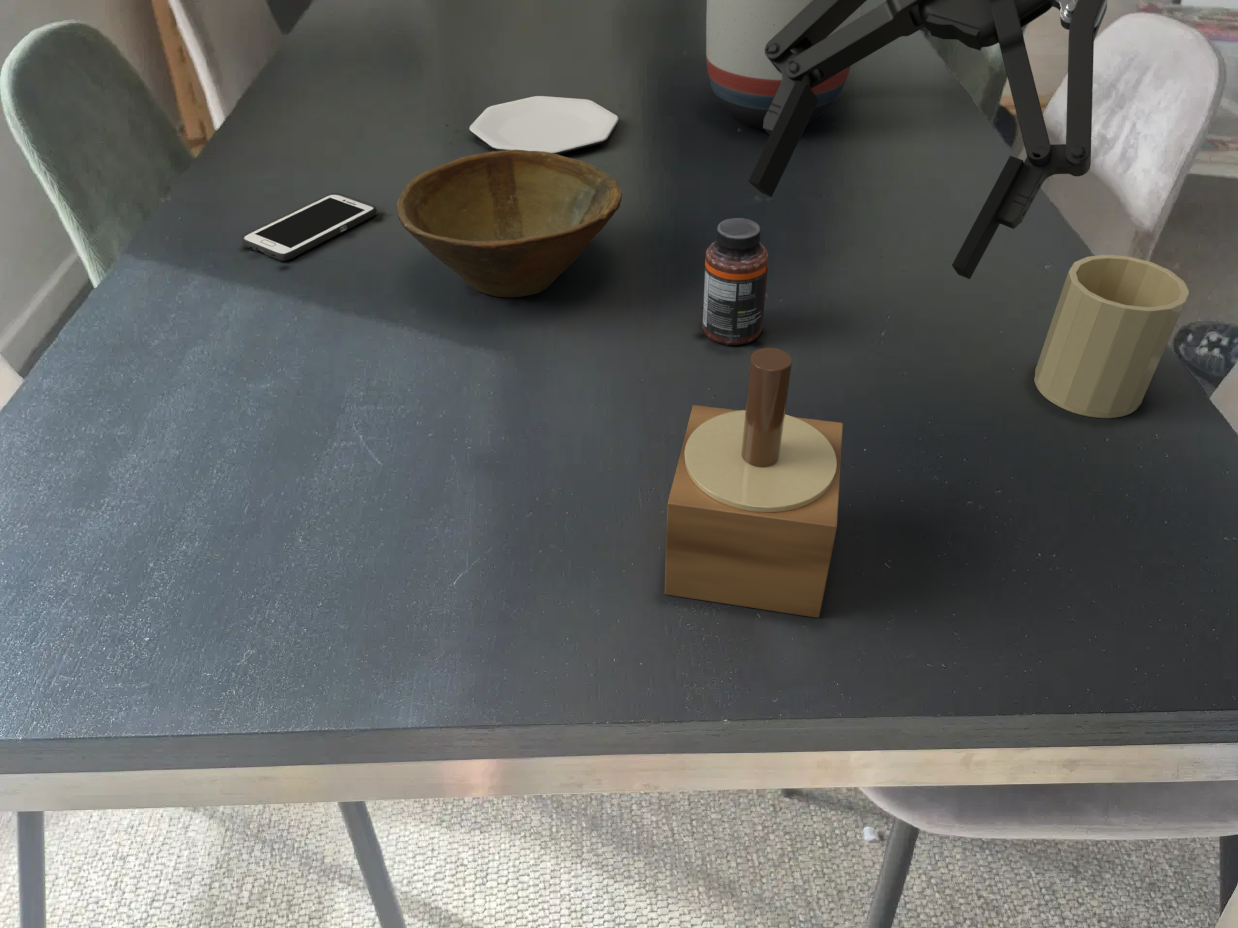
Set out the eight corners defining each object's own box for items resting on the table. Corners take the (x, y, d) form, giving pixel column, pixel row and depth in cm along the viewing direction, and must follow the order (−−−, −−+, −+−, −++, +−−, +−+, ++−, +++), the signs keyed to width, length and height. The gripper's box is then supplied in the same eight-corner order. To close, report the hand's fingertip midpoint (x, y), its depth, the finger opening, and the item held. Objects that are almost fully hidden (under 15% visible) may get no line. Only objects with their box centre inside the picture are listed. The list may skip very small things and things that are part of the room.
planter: (769, 87, 147) (783, -69, 133) (874, 124, 135) (901, -42, 121) (671, 119, 137) (676, -45, 123) (775, 163, 125) (792, -14, 111)
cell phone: (239, 245, 109) (237, 237, 108) (336, 198, 118) (334, 191, 117) (284, 264, 105) (282, 256, 105) (380, 214, 114) (379, 206, 114)
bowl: (642, 318, 96) (643, 227, 90) (415, 345, 93) (399, 253, 86) (601, 222, 113) (599, 140, 106) (406, 242, 109) (392, 158, 103)
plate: (628, 112, 139) (628, 102, 138) (595, 167, 125) (595, 155, 124) (500, 102, 143) (500, 92, 142) (454, 154, 128) (453, 143, 127)
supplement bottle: (729, 309, 98) (737, 206, 90) (774, 332, 94) (785, 227, 87) (688, 330, 95) (693, 226, 87) (733, 355, 91) (742, 248, 84)
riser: (819, 618, 66) (837, 526, 60) (664, 594, 68) (667, 503, 62) (826, 512, 74) (843, 422, 69) (688, 493, 76) (692, 404, 70)
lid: (832, 522, 61) (852, 418, 55) (672, 500, 62) (676, 397, 57) (838, 424, 68) (857, 323, 63) (696, 407, 70) (701, 307, 65)
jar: (1151, 424, 83) (1200, 315, 75) (1040, 411, 84) (1078, 303, 77) (1131, 365, 89) (1174, 260, 82) (1028, 354, 91) (1062, 250, 84)
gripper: (1261, -37, 51) (1059, 322, 55) (852, -135, 61) (707, 175, 65) (1286, -114, 45) (1054, 300, 49) (822, -210, 55) (663, 141, 59)
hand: (855, 229), depth 57 cm, fingers open, 13 cm apart
